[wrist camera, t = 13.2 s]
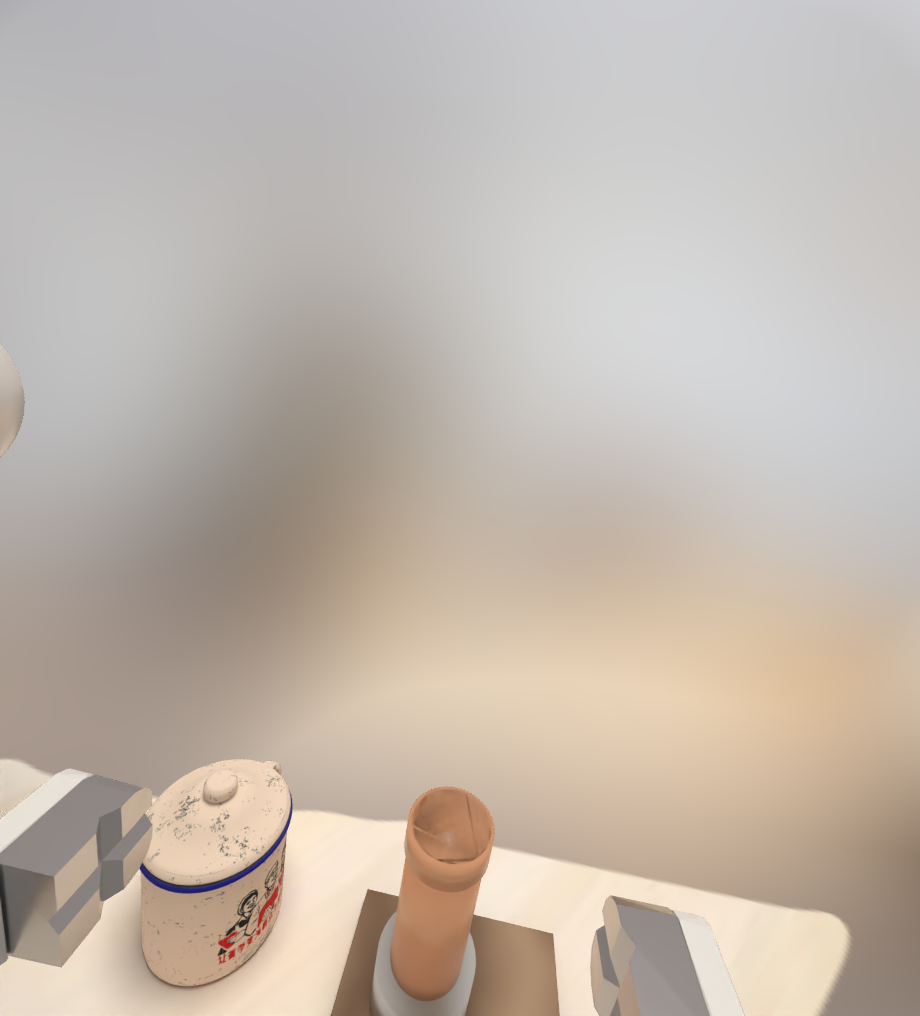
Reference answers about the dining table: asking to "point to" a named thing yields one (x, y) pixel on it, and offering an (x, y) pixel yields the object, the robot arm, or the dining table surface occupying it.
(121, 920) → the dining table surface
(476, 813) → the peach lidded canister
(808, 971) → the dining table surface
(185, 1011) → the dining table surface
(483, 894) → the dining table surface
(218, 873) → the teacup with lid
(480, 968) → the stud board
